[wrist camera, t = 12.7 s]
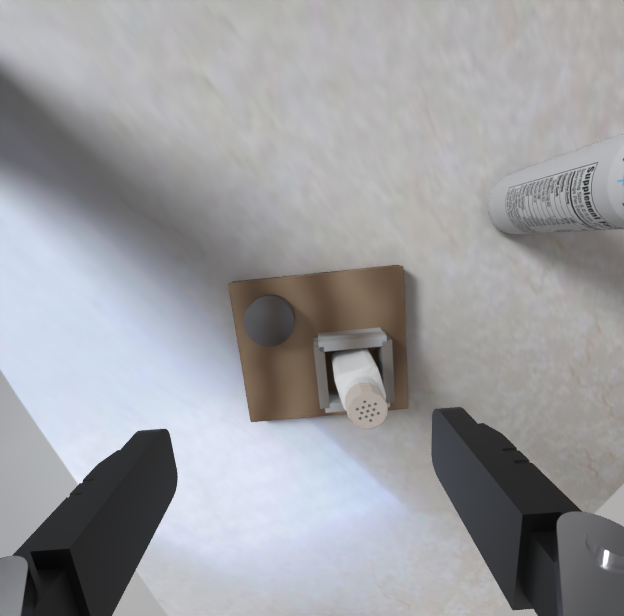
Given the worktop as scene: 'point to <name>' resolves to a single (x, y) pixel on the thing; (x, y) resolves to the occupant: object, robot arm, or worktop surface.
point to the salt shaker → (360, 387)
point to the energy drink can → (564, 192)
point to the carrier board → (317, 337)
